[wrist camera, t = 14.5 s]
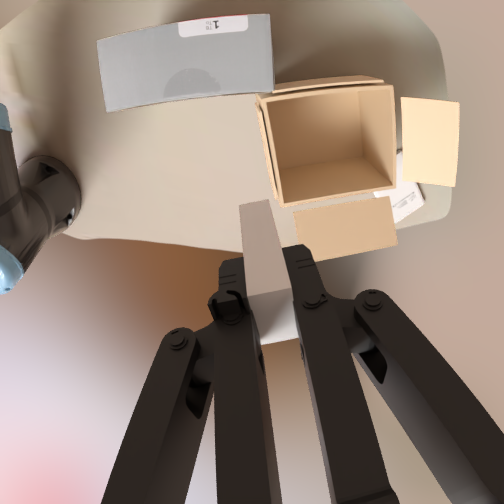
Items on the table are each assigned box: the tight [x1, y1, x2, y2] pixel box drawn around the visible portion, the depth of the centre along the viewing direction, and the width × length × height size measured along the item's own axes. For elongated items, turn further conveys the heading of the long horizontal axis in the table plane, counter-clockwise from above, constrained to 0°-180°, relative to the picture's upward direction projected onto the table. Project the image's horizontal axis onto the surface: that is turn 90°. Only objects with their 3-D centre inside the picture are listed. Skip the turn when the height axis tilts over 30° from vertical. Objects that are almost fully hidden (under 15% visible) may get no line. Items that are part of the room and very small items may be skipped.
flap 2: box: [401, 97, 459, 187], centre depth 32 cm, size 7×11×1 cm, turn 11°
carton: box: [255, 75, 396, 208], centre depth 40 cm, size 16×15×12 cm
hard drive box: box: [97, 13, 275, 113], centre depth 30 cm, size 16×8×20 cm, turn 93°
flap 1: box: [293, 196, 398, 261], centre depth 39 cm, size 13×7×1 cm
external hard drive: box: [373, 149, 425, 224], centre depth 52 cm, size 2×8×12 cm
